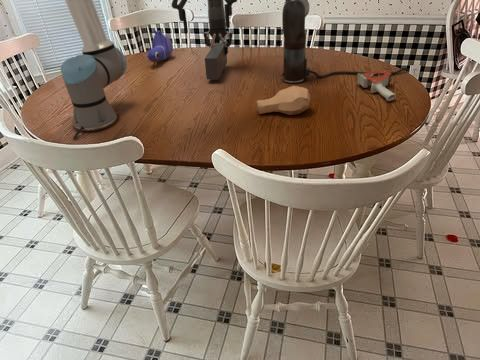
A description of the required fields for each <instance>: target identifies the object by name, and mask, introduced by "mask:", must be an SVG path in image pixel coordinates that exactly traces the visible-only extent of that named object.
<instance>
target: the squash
mask: <svg viewBox="0 0 480 360" xmlns="http://www.w3.org/2000/svg"><path fill="white" fill-rule="evenodd" d="M311 98H312V97H311V95H310V90H309V89H307V88H306V87H302V86H298V85H292V86H289V87H287V88H283V89H280V90H279V91H277V92H276V94H275V95H274V96H272V97H271V98H265V99H257V100H256V102H255V103H256V107H257V109H256V110H257V113H258V114H259V115H263V114H266V113H273V112H275V113H282V114H284V115H287V116H295V115H300V114H301V113H303V112H305V111H306V110H308V109H309V107H310V102H311Z"/></svg>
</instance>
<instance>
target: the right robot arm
mask: <svg viewBox="0 0 480 360" xmlns="http://www.w3.org/2000/svg"><path fill="white" fill-rule="evenodd" d="M284 1H285V2H284V4H283V7H282V13H281V14H282V15H281V16H282V17H281V20H282V23H281V24H282V28H281V29H282V34H283V61H282V64H283V65H282V76H281V77H282V81H283V82H285V83H286V84H287V83H288V84H298V83H299V84H300V83H302V82H304V81H306V80H307V77H309V76H310V75H311V74H313V75H315V77H317V78H319V79H322V78H327V77H329V76H332V75H339V74H341V75H343V74H348V75H358V74H359V73H360V74H364V73H369V72H367V71H352V70H351V71H349V70H347V71H345V70H343V71H342V70H340V71H337V70H336V71H332V72H329V73H326V74H324V75H319V74H318V72H316V71H314V70H311V69H310V68H309V67H308V66H307V65H308V58H307V57H306V49H307V32H306V18H307V16H308V15H309V12H310V2H309V0H284ZM224 2H225V1H224V0H207V17H208V27H209V29H208V31H205V32H203V34H202V35H203V39H204V41H205V46H206V47H209V48H210V49H211V48H212V47H213V45H214V44H215V43H216V42H217V41H220V42H221V43H223V44H224V50H225V55H227V56H228V54H229V47H230V46H232V42H233V34H234V32H233V31H227V27H226V21H225V7H224V4H225V3H224ZM209 36H210V37H211V40H210V37H209ZM226 36H227V37H228V41H227V39H226ZM210 41H211V42H210ZM403 71H405V72H409V73H410V70H409V69H408V68H407V67H402V68H400V69H398V70H396V71H389V72H390V73H391V75H396V74H399V73H401V72H403ZM378 74H379V73H376V74H374V75H373V76H378Z"/></svg>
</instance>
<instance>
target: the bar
mask: <svg viewBox="0 0 480 360" xmlns="http://www.w3.org/2000/svg"><path fill="white" fill-rule="evenodd" d="M227 64H228V54H227V55H225V50H224V44H223V43H222V42H214V45H213V47H212V48H211V47H210V50H209V51H208V53H207V54H206V55H205V57H204V66H205V67H204V68H205V76H206V80H213V81H214V80H220V77H221V75H222V73H223V71H224V69H225V68H226V66H227Z"/></svg>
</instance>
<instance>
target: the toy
mask: <svg viewBox="0 0 480 360" xmlns="http://www.w3.org/2000/svg"><path fill="white" fill-rule="evenodd" d="M151 33H152V34H153V33H154V35H153V38H152V43H151V48H150V49H147V50H148V51H147V52H146V58H147V59H148V61H150V62H152V63H153V65H154V67H156V66H157V63H158V62H162V61H164V60H166V59H168V58H169V57H170V56H171V55H172V54H173V50H174V46H173V43H172V40H171V38H170V37H169V35H168V34H164V33H163V32H162V31H161V30H158V29H157V30H152V31H151ZM151 33H150V34H151Z"/></svg>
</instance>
